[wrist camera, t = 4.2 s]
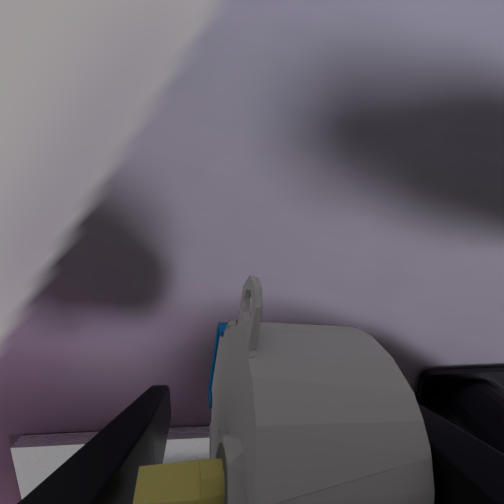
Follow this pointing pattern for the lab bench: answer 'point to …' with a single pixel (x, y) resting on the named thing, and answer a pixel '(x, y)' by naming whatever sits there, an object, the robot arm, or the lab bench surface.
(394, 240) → the lab bench surface
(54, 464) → the grey metal assembly fixture
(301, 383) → the electric motor
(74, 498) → the robot arm
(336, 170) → the lab bench surface
